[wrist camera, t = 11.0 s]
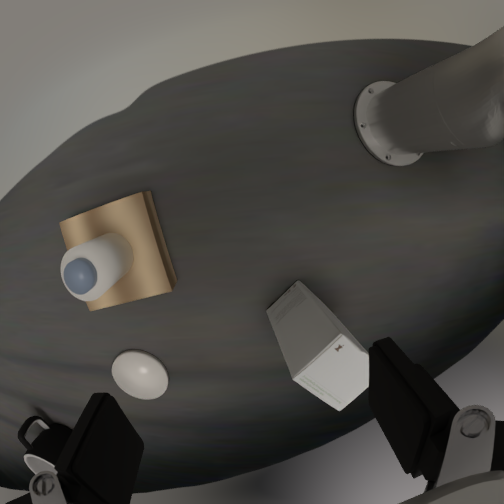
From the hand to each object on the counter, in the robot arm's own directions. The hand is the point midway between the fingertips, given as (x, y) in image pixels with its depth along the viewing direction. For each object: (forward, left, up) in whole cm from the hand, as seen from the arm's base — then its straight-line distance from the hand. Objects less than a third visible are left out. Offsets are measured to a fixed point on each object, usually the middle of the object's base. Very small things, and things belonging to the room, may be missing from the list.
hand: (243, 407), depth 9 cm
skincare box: (-7, +12, -29) cm, 32 cm away
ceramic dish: (+19, +16, -29) cm, 38 cm away
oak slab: (+14, -3, -29) cm, 32 cm away
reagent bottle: (+14, -3, -25) cm, 28 cm away
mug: (+46, +31, -29) cm, 62 cm away
